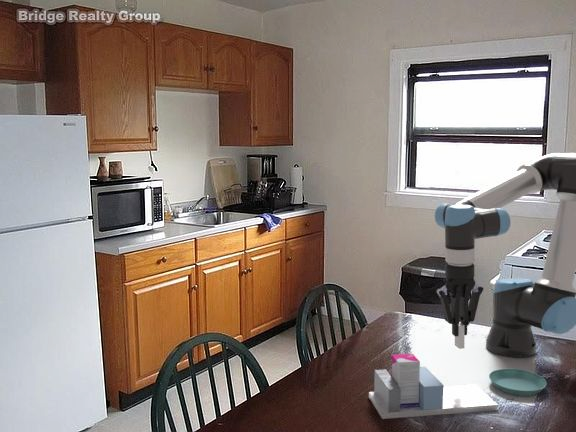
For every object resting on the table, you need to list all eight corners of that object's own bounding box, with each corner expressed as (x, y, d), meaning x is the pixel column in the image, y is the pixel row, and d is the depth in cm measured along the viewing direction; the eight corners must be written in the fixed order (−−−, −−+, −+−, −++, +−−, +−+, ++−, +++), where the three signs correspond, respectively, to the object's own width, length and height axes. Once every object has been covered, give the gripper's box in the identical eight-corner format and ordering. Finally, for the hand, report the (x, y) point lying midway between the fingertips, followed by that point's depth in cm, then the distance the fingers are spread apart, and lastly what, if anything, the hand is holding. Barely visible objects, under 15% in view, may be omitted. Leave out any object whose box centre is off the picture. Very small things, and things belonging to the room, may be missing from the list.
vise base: (475, 389, 158) (476, 363, 157) (497, 410, 146) (498, 381, 145) (368, 397, 154) (369, 370, 153) (382, 418, 142) (382, 389, 141)
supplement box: (420, 404, 146) (420, 361, 144) (397, 406, 145) (397, 362, 144) (412, 394, 152) (412, 352, 150) (390, 396, 151) (390, 354, 149)
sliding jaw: (424, 387, 156) (425, 366, 155) (442, 408, 144) (443, 385, 143) (406, 389, 155) (407, 367, 154) (423, 409, 143) (424, 386, 142)
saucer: (503, 372, 170) (503, 364, 170) (555, 387, 160) (555, 378, 159) (478, 388, 160) (479, 378, 159) (532, 405, 149) (533, 395, 149)
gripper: (475, 257, 160) (474, 339, 164) (431, 261, 158) (431, 344, 162) (489, 264, 153) (488, 349, 157) (443, 268, 151) (443, 354, 155)
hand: (459, 346), depth 159 cm, fingers closed
